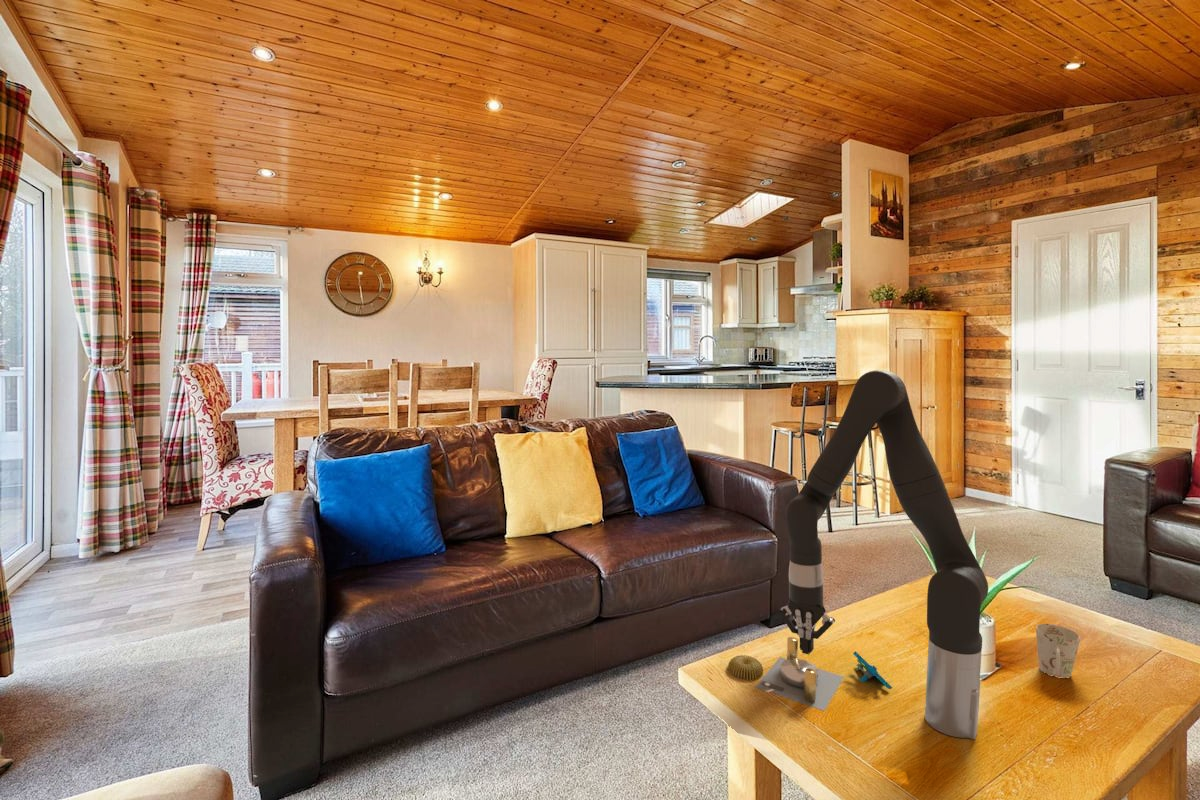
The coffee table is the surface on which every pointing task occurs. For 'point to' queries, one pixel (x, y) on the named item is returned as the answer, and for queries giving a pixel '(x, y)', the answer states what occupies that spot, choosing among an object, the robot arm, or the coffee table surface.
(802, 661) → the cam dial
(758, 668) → the sculpture
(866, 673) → the gear
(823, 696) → the board
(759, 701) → the coffee table surface
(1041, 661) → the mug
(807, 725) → the coffee table surface
